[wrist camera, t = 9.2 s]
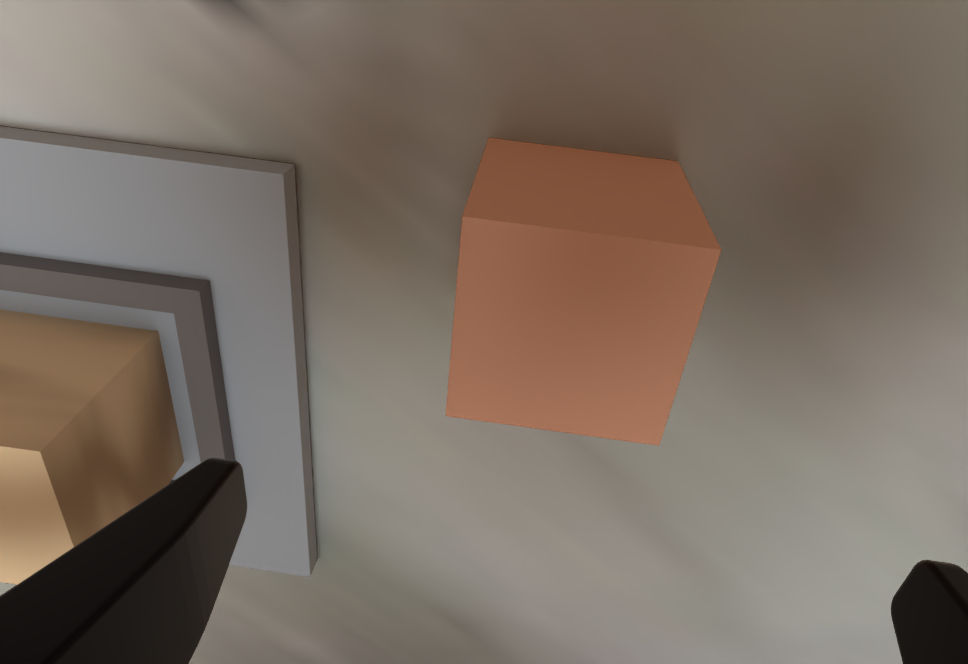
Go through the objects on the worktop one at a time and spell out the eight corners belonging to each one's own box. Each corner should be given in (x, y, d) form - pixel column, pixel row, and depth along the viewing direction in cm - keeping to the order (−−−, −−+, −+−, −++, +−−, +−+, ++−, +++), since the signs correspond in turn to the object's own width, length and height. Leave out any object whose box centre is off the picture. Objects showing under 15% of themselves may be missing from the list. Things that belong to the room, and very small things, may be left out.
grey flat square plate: (317, 559, 24) (304, 591, 23) (-22, 508, 25) (-52, 538, 24) (294, 163, 16) (273, 183, 15) (-207, 99, 17) (-264, 113, 16)
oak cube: (184, 461, 21) (90, 595, 17) (33, 440, 21) (-96, 567, 17) (158, 331, 19) (40, 451, 14) (-14, 307, 19) (-181, 420, 14)
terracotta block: (636, 322, 18) (659, 445, 14) (472, 300, 18) (446, 416, 14) (677, 160, 16) (721, 249, 11) (488, 136, 16) (462, 216, 11)
